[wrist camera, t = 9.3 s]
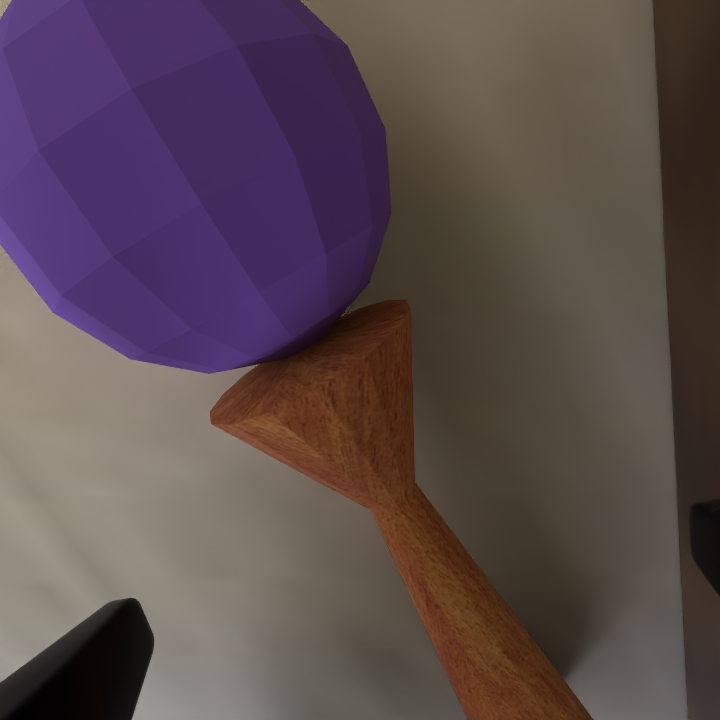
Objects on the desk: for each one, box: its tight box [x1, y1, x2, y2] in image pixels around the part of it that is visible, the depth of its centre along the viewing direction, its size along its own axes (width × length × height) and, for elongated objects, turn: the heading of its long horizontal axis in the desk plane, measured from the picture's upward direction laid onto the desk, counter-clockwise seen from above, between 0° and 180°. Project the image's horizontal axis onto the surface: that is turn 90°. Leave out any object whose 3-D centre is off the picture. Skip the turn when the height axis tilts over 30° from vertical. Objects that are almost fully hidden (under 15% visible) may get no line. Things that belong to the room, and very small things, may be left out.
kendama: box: [0, 0, 593, 720], centre depth 9 cm, size 6×6×20 cm
